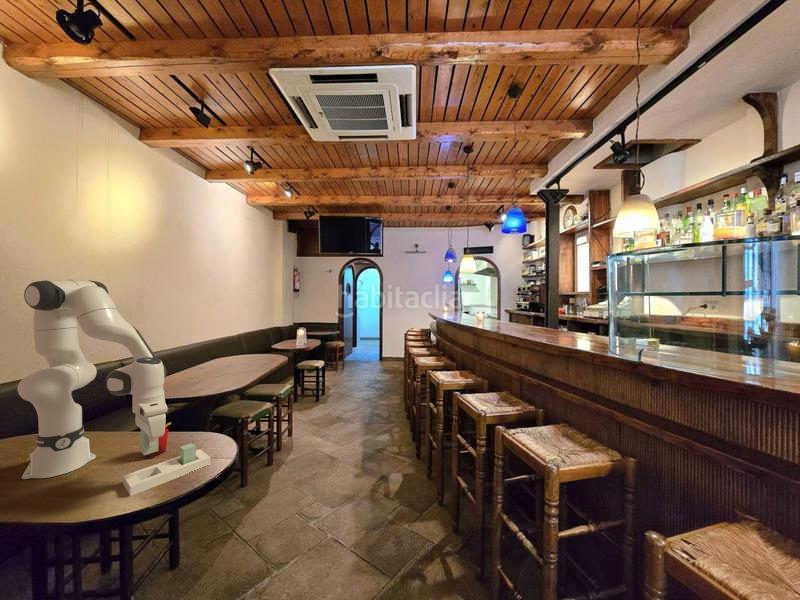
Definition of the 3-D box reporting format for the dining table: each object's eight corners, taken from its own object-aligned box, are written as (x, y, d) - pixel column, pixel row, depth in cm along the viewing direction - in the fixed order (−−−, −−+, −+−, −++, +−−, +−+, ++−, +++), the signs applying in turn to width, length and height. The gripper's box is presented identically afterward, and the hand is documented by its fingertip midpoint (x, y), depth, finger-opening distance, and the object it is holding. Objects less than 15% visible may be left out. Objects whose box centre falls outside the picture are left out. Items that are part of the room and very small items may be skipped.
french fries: (140, 456, 126) (140, 420, 125) (162, 447, 133) (162, 413, 133) (154, 461, 122) (154, 423, 122) (176, 451, 130) (176, 416, 130)
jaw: (140, 451, 109) (140, 429, 109) (154, 447, 112) (154, 425, 112) (144, 455, 106) (143, 432, 106) (158, 450, 110) (158, 428, 109)
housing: (122, 484, 108) (122, 461, 108) (200, 456, 127) (200, 437, 127) (130, 496, 102) (130, 471, 101) (210, 464, 121) (210, 444, 120)
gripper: (129, 400, 113) (130, 437, 113) (145, 413, 100) (146, 455, 100) (151, 395, 118) (151, 431, 118) (169, 408, 105) (169, 448, 105)
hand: (149, 443), depth 109 cm, fingers closed on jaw, 4 cm apart
